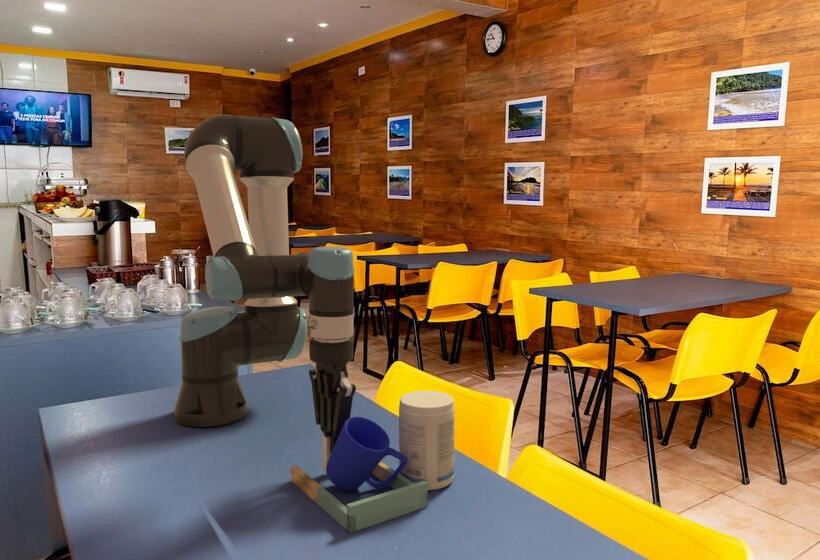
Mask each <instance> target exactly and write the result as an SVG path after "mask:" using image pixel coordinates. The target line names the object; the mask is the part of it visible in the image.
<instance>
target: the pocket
mask: <svg viewBox="0 0 820 560" xmlns="http://www.w3.org/2000/svg"><path fill="white" fill-rule="evenodd" d="M395 471H396V469H395V470H394V469H393V468H391V467H390V469H386V480H387V479H388V478H389V477H390V476H391V475H392V474H393V473H394V472H395ZM388 487H390V488H392V490H389V491H386V492H383V493H380V494H379V493H378V494H376V495H372V496H369V497H367V498H363V499H362V498H361V499H360V500H357V501H353V502H350V503H347V504H346V505H345V504H343V502H341V500H339V499H337V497H335V496H334V495H333V494H331V493H330V492H329V491H328V490H327V489H325V488H324V487H323V488H319V489H317V503H316V504H317V505H318V506H319V507H320V508H322V510H324V511H325V512H326V513H327V514H328V515H330V517H331V518H333V519H334V520H335V522H337V523H338V524H339V525H341V526H342V528H344V529H345V530H346V531H347V532H348V533H350V534H351V533H355V532H358V531H359V530H364V529H366V528H369V527H372V526H375V525H378V524H381V523H383V522H386V521H390V520H392V519H396V518H398V517H399V518H400V517H401V516H404V515H408V514H410V513H413V512H415V511H419V510H422V509H424V508H427V507H428V491H429V490H428V483H427V482H425V481H421V482H417V483H413V482H412V481H410V480H408V479H407V478H405V477H404V476H402V475H401V474H398V475H397V477H396V478H395V479H394V480H393V481H392V482H391V483H390V484H389V485H388Z"/></svg>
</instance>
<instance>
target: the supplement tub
mask: <svg viewBox="0 0 820 560" xmlns="http://www.w3.org/2000/svg"><path fill="white" fill-rule="evenodd" d="M398 452H400V453H401V454H403V455H404V456H406V457H407V459H408V460H407V463H406V465H405V466H404V467H403V469H402V470H401V472H400V473H399V474H401V475H402V476H404V477H405V478H407V479H408V480H410V481H412V482H413V483H417V482H421V481H425V482H427V483H428V491H436V490H440V489H443V488H445V487H447V486H448V485H450V484H451V483H452V482H453V480H454V478H455V405H454V398H453V396H452V395H450V394H448V393H446V392H442V391H436V390H415V391H410V392H407V393H405V394H402V395H401V397H400V398H399V405H398ZM398 460H399V459H398ZM398 462H399V465H400V464H401V462H402V461H400V460H399V461H398ZM399 465H398V466H399Z"/></svg>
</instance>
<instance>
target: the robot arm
mask: <svg viewBox="0 0 820 560" xmlns="http://www.w3.org/2000/svg"><path fill="white" fill-rule="evenodd" d="M183 150H184V152H183V161H184V164H185V170H186V172H187V174H188V175H189V176H190V177H191V178H192V179H193V180H194V184H195V189H196V192H197V195H198V200H199V204H200V207H201V212H202V216H203V219H204V223H205V227H206V232H207V236H208V238H209V239H208V240H209V244H210V247H211V252H212V257H210V258H208V260H207V261H206V263H205V268H204V278H205V279H204V280H205V287H206V292H207V294H208V297H209V298H211V300H213V301H220V302H221V301H223V302H225V301H226V302H228V301H233V302H237V301H238V302H239V301H240V300H241V301H242V300H246V301H245V302H244V311H242V312H238V310H237V308H236V307H235V306H231V305H225V306H224V305H222V306H211V307H206V308H201V309H198V310H195V311H194V310H193V311H192V312H189V313H187V314H186V315H184V316H183V317H182V319H181V320H180V325H179V326H180V327H179V328H180V329H179V337H178V338H179V341H180V354H181V355H180V359H181V386H180V389H179V393H178V396H177V399H176V403H175V404H174V405H175V406H174V421H175V422H176V423H177V424H180V425H183V426H185V427H194V428H195V427H196V428H199V427H200V428H208V427H209V428H210V427H217V426H219V427H220V426H224V425H228V424H232V423H235V422H237V421H239V420H240V421H241V420H242V419H243V418H245V416H246V415H248V401H247V398H246V395H245V393H244V391H243V388H242V385H241V382H240V380H239V366H246V365H254V364H262V363H273V362H274V363H275V362H278V363H280V362H281V363H282V362H283V361H289V360H293V359H296V358H298V357H299V356H300V355H301V354H302V352H303V351H304V348H305V346H306V342H307V337H308V336H307V335H308V327H309V336H310V337H311V338H310V340H308V341H309V342H308V343H309V344H308V345H309V346H308V348H309V352H308V353H309V360H310V361H311V362H312V363H315V368H313V369H309V370H308V374H309V379H310V382H311V391H312V400H313V407H314V415H315V416H314V417H315V424H316V425H317V426H318V425H320V427H319V429H320V431H321V432H322V469H323V470H325V471H326V465H327V462H328V460H329V457H330V455H331V453H332V451H333V448H334V446H335V444H336V442H337V439H338V437H339V435H340V433H341V430H342V428H343V426H344V423H345V422H346V420H347V419H349V418H351V414H352V405H353V399H354V395H355V394H356V390H357V386H356V384H355V383H352V384H351V383H350V382H349V380H348V378H349V373H348V372H349V371H348V368H347V365H348V364H349V362H351V361H353V358H354V339H353V338H352V337H353V336H354V332H355V331H354V330H355V328H354V326H355V325H354V317H355V316H354V314H355V313H354V290H355V287H354V283H355V282H354V281H355V279H354V278H355V265H354V253H353V252H352V250H351V249H349V248H348V247H340V246H319V247H314V248H312V249H311V250H310V251H309V252H298V253H295V254H290V247H289V246H290V243H289V241H290V240H289V210H288V209H289V208H288V205H289V204H288V187H289V185H291V184H292V183H293V181H294V180H295V179H294V178H295V177H294V174H296V173H298V172H299V171H300V170H301V168H302V163H303V162H302V160H303V145H302V141H301V136H300V134H299V131H298V129H297V127H296V125H294V123H293V122H292V121H290V120H288V119H283V118H277V117H273V116H272V117H270V116H269V117H268V116H253V115H252V116H250V115H238V114H237V115H236V114H235V115H234V114H233V115H232V114H226V113H225V114H223V113H222V114H216V115H213V116H210V117H208V118H205V119H204V120H203V121H202V122H199V124H197V126H196V127H195V128H193V130H192V131H191V133H190V134H189V136H188V138H187V140H186V143H185V146H184V149H183ZM233 171H237V172H238V171H239V181H240V182H242V183H243V184H244V185H245V186H246V189H247V203H248V204H247V205H248V206H247V209H248V210H247V211H248V214H247V215H248V219H247V215H246V210H245V209H244V205H243V201H242V198H241V194H240V192H239V189H238V185H237V182H236V179H235V178H236V177H235V175H234V172H233ZM303 296H306V297H308V303H309V304H308V307H309V308H308V312H309V320H307V314H306V312H305V310H304V309H303V308H301V307H299V306H298V300H297V299H296V298H295V297H303Z"/></svg>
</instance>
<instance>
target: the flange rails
mask: <svg viewBox="0 0 820 560" xmlns="http://www.w3.org/2000/svg"><path fill="white" fill-rule="evenodd" d="M390 468H391V467H390V466H389V465H387V464H386V463H384V462H382V460H381V461H380V462H379V464H378V465H377V466H376V468H375V469H374V471H373V472H372V474H371V475H373V476H374V477H376V478H377V479H378V480H380V481H381V482H383V481H385V480H386V469H390ZM290 481H291V482H292V483H293V484H294V485H296V486H297V487H298V488H299V489H300V490H301V491H302V492H303V493H305V494H306V495H307V496H308V497H309V499H311V500H312V501H314V502H315V503H316V504H317V489H319V488H324V487H323V486H322V485H321V484H320V483H318V482H317V481H316V480H315V479H314V478H312V477H311V476H310V475H309V474H308V473H306V472H305V471H304V470H302V469H301V468H300V467H299V466H298V465H292V466H291V467H290Z"/></svg>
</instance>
